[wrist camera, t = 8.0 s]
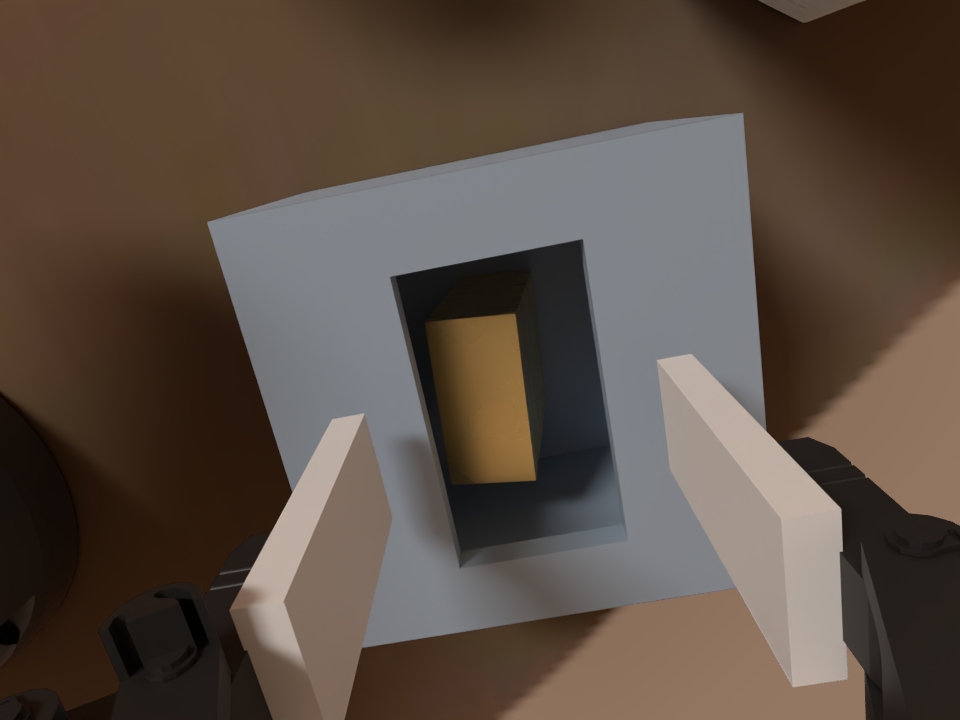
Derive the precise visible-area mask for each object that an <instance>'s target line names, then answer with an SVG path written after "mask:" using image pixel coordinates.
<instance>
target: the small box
mask: <svg viewBox="0 0 960 720" xmlns="http://www.w3.org/2000/svg"><path fill="white" fill-rule="evenodd" d="M758 1H760V2H762V3H764V4H766V5H768V6H770V7H772V8H774V9H776V10H778V11H780V12H782V13H784V14H786V15H788V16H790V17H792V18H794V19H796V20H798V21H800V22H803V23H806V22H809V21H812V20H814V19H817V18H820V17H822V16H825V15H828V14H831V13H833V12H835V11H838V10H841V9H843V8H846V7H849V6H851V5H854V4H857V3H859V2H862V1H866V0H758Z"/></svg>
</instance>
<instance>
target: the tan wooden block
mask: <svg viewBox="0 0 960 720" xmlns="http://www.w3.org/2000/svg"><path fill="white" fill-rule="evenodd" d="M425 328H426V334H427V340H428V346H429V352H430V358H431V364H432V370H433V376H434V382H435V388H436V394H437V400H438V406H439V412H440V418H441V424H442V430H443V436H444V442H445V448H446V454H447V460H448V466H449V472H450V478H451V484H452V485H460V484H479V483H498V482H517V481H536V477H537V469H538V461H539V454H540V446H541V439H542V431H543V423H544V416H545V408H546V394H545V385H544V376H543V368H542V359H541V350H540V341H539V333H538V324H537V315H536V306H535V298H534V289H533V280H532V271H531V269H526V270H516V271H507V272H498V273H488V274H479V275H470V276H461V277H460V279H459V280H458V281H457V282H456V284H455V285H454V286H453V287H452V289H451V290H450V291H449V292H448V294H447V295H446V296H445V297H444V299H443V300H442V301H441V302H440V304H439V305H438V306H437V307H436V309H435V310H434V311H433V312H432V314H431V315H430V316H429V317H428V319H427V320H426V321H425Z"/></svg>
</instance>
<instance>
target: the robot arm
mask: <svg viewBox="0 0 960 720" xmlns="http://www.w3.org/2000/svg"><path fill="white" fill-rule="evenodd" d="M657 367H658V375H659V383H660V391H661V399H662V407H663V416H664V424H665V432H666V440H667V448H668V456H669V464H670V471H671V472H672V474H673V476H674V478H675V480H676V481H677V483H678V485H679V487H680V488H681V490H682V492H683V494H684V496H685V497H686V499H687V501H688V503H689V504H690V506H691V508H692V510H693V511H694V513H695V515H696V517H697V519H698V520H699V522H700V524H701V526H702V527H703V529H704V531H705V533H706V535H707V536H708V538H709V540H710V542H711V543H712V545H713V547H714V549H715V551H716V552H717V554H718V556H719V558H720V559H721V561H722V563H723V565H724V566H725V568H726V570H727V572H728V574H729V575H730V577H731V579H732V581H733V582H734V584H735V586H736V588H737V590H738V591H739V593H740V595H741V596H742V598H743V600H744V602H745V604H746V606H747V607H748V609H749V611H750V613H751V614H752V616H753V618H754V620H755V622H756V623H757V625H758V627H759V628H760V630H761V632H762V634H763V636H764V637H765V639H766V641H767V643H768V644H769V646H770V648H771V650H772V652H773V653H774V655H775V657H776V659H777V661H778V662H779V664H780V666H781V667H782V669H783V671H784V673H785V675H786V677H787V678H788V680H789V682H790V684H791V685H792V687H799V686H806V685H812V684H819V683H826V682H832V681H839V680H845V679H848V674H847V647H848V648H849V649H850V651H851V652H852V653H853V655H854V656H855V658H856V659H857V661H858V662H859V663H860V665H861V666H862V667H863V669H864V671H865V703H866V704H865V707H866V720H960V526H959V525H957V524H955V523H953V522H951V521H947V520H944V519H940V518H937V517H933V516H929V515H919V514H910V513H908V512H907V511H905V510H904V509H903V508H902V507H901V506H900V505H899V504H898V503H896V502H895V501H894V500H893V499H892V498H891V497H890V496H889V495H887V494H886V493H885V492H884V491H883V490H881V488H879V487H878V486H877V485H876V484H875V483H874V482H873V481H871V480H870V479H869V478H865V474H863V473H862V472H861V471H860V470H859V469H858V468H857V467H855V466H854V465H853V466H852V465H851V462H850V461H849V460H848V459H847V458H845V457H844V456H843V455H842V454H841V453H840V452H839V451H837V450H836V449H835V448H834V447H831V446H829V445H826V444H824V443H821V442H819V441H816V440H814V439H812V438H809V437H806V438H800V439H794V440H789V441H783V442H776V441H775V440H774V439H773V438H772V437H771V436H770V435H769V434H768V433H767V432H766V431H765V429H764V428H763V427H762V426H761V425H760V424H759V423H758V422H757V421H756V420H755V419H754V418H753V417H752V416H751V415H750V414H749V413H748V412H747V411H746V410H745V409H744V408H743V407H742V406H741V405H740V404H739V403H738V402H737V400H736V399H735V398H734V397H733V396H732V395H731V394H730V393H729V392H728V391H727V390H726V389H725V388H724V387H723V386H722V385H721V384H720V383H719V382H718V381H717V380H716V379H715V378H714V377H713V376H712V375H711V374H710V373H709V372H708V370H707V369H706V368H705V367H704V366H703V365H702V364H701V363H700V362H699V361H698V360H697V359H696V358H695V357H694V356H693V355H692V354H687V355H681V356H676V357H670V358H665V359H660V360H657ZM392 519H393V517H392V513H391V509H390V506H389V502H388V498H387V495H386V491H385V487H384V483H383V480H382V476H381V472H380V468H379V465H378V461H377V457H376V454H375V450H374V446H373V442H372V439H371V435H370V431H369V427H368V424H367V420H366V416H365V413H364V414H358V415H353V416H347V417H342V418H336V419H332V421H331V422H330V424H329V426H328V428H327V430H326V432H325V434H324V435H323V437H322V439H321V441H320V443H319V445H318V447H317V448H316V450H315V452H314V454H313V456H312V458H311V460H310V461H309V463H308V465H307V467H306V469H305V471H304V473H303V474H302V476H301V478H300V480H299V482H298V484H297V486H296V487H295V489H294V491H293V493H292V495H291V497H290V498H289V500H288V502H287V504H286V506H285V508H284V510H283V511H282V513H281V515H280V517H279V519H278V521H277V523H276V524H275V526H274V528H273V530H272V532H268V533H262V534H256V535H251V536H250V537H249V538H248V539H246V540H245V541H244V542H243V543H242V544H241V545H240V546H238V547H237V548H236V549H235V550H234V551H233V552H232V553H231V554H230V555H229V557H228V559H227V560H226V562H225V564H224V565H223V567H222V568H221V570H220V575H217V577H216V578H215V580H214V582H213V583H212V585H211V586H210V588H211V589H210V591H207V593H206V595H205V596H204V598H203V596H202V594H201V591H200V588H199V587H197V586H195V585H193V584H191V583H172V584H168V585H164V586H160V587H156V588H154V589H151V590H149V591H147V592H145V593H142V594H140V595H138V596H136V597H134V598H133V599H131V600H130V601H128V602H127V603H125V604H123V605H122V606H120V607H119V608H118V609H117V610H116V611H115V612H114V613H112V614H111V615H110V616H109V617H108V618H107V619H106V620H105V622H104V623H103V625H102V627H101V628H100V630H99V632H98V633H99V635H100V637H101V640H102V642H103V644H104V646H105V649H106V651H107V653H108V655H109V658H110V660H111V662H112V664H113V667H114V669H115V671H116V673H117V676H118V678H119V680H120V685H119V689H118V692H115V693H113V694H111V695H108V696H106V697H103V698H100V699H98V700H95V701H93V702H90V703H87V704H85V705H82V706H80V707H77V708H74V709H72V710H69V711H65V709H64V707H63V705H62V703H61V701H60V699H59V697H58V695H57V693H56V692H54V691H52V690H49V689H47V688H44V689H32V690H28V691H25V692H22V693H19V694H16V695H12V696H9V697H7V698H5V699H2V700H0V720H345V716H346V711H347V707H348V703H349V699H350V695H351V691H352V686H353V682H354V678H355V674H356V670H357V665H358V661H359V657H360V653H361V649H362V644H363V640H364V636H365V632H366V628H367V624H368V619H369V615H370V611H371V607H372V603H373V598H374V594H375V590H376V586H377V582H378V578H379V573H380V569H381V565H382V561H383V557H384V552H385V548H386V544H387V540H388V536H389V531H390V527H391V523H392ZM77 555H78V530H77V523H76V516H75V512H74V507H73V504H72V500H71V497H70V494H69V491H68V488H67V486H66V483H65V481H64V479H63V477H62V474H61V472H60V470H59V468H58V466H57V465H56V463H55V461H54V459H53V458H52V456H51V454H50V453H49V451H48V450H47V448H46V447H45V445H44V444H43V442H42V441H41V440H40V438H39V437H38V436H37V434H36V433H35V432H34V431H33V430H32V428H31V427H30V426H29V425H28V424H27V423H26V421H25V420H24V419H23V418H22V417H21V416H20V415H19V414H18V413H17V412H16V411H15V410H14V409H13V408H12V407H11V406H10V405H8V404H7V403H6V402H5V401H4V400H3V399H2V398H1V397H0V669H1V668H2V667H4V666H5V665H6V664H7V663H9V662H10V661H11V660H12V659H13V658H14V657H15V656H16V655H18V654H19V653H20V652H21V651H22V649H23V648H24V647H25V646H26V645H27V644H28V643H29V642H30V641H31V640H32V638H33V637H34V636H35V635H36V634H37V633H38V632H39V631H40V630H41V628H42V627H43V626H44V625H45V624H46V623H47V622H48V621H49V620H50V618H51V617H52V616H53V615H54V614H55V612H56V611H57V609H58V608H59V607H60V605H61V603H62V602H63V600H64V598H65V596H66V594H67V592H68V590H69V588H70V585H71V582H72V579H73V576H74V572H75V568H76V562H77ZM846 645H847V647H846Z"/></svg>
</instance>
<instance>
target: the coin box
mask: <svg viewBox="0 0 960 720" xmlns="http://www.w3.org/2000/svg"><path fill="white" fill-rule="evenodd" d="M207 223H208V227H209V230H210V233H211V236H212V239H213V242H214V246H215V249H216V252H217V255H218V258H219V262H220V265H221V268H222V271H223V274H224V277H225V281H226V284H227V287H228V290H229V293H230V296H231V300H232V303H233V306H234V309H235V312H236V315H237V319H238V322H239V325H240V328H241V331H242V334H243V338H244V341H245V344H246V347H247V350H248V353H249V357H250V360H251V363H252V366H253V369H254V372H255V376H256V379H257V382H258V385H259V388H260V391H261V395H262V398H263V401H264V404H265V407H266V410H267V414H268V417H269V420H270V423H271V426H272V429H273V433H274V436H275V439H276V442H277V445H278V449H279V452H280V455H281V458H282V461H283V464H284V468H285V471H286V474H287V477H288V480H289V483H290V487H291V490H292V493H293V491H294V489H295V487H296V486H297V484H298V482H299V480H300V478H301V476H302V474H303V473H304V471H305V469H306V467H307V465H308V463H309V461H310V460H311V458H312V456H313V454H314V452H315V450H316V448H317V447H318V445H319V443H320V441H321V439H322V437H323V435H324V434H325V432H326V430H327V428H328V426H329V424H330V422H331V421H332V419H336V418H342V417H347V416H353V415H358V414H364V413H365V416H366V420H367V424H368V427H369V431H370V435H371V439H372V442H373V446H374V450H375V454H376V457H377V461H378V465H379V468H380V472H381V476H382V480H383V483H384V487H385V491H386V495H387V498H388V502H389V506H390V509H391V513H392V517H393V519H392V523H391V527H390V531H389V536H388V540H387V544H386V548H385V552H384V557H383V561H382V565H381V569H380V573H379V578H378V582H377V586H376V590H375V594H374V598H373V603H372V607H371V611H370V615H369V619H368V624H367V628H366V632H365V636H364V640H363V644H362V648H364V647H371V646H377V645H383V644H389V643H396V642H402V641H408V640H414V639H421V638H427V637H433V636H439V635H446V634H452V633H458V632H464V631H471V630H477V629H483V628H489V627H496V626H502V625H508V624H514V623H521V622H527V621H533V620H539V619H546V618H552V617H558V616H564V615H571V614H577V613H583V612H589V611H596V610H602V609H608V608H615V607H621V606H627V605H633V604H639V603H646V602H652V601H658V600H665V599H670V598H677V597H683V596H689V595H696V594H702V593H708V592H715V591H720V590H727V589H733V588H736V586H735V584H734V582H733V581H732V579H731V577H730V575H729V574H728V572H727V570H726V568H725V566H724V565H723V563H722V561H721V559H720V558H719V556H718V554H717V552H716V551H715V549H714V547H713V545H712V543H711V542H710V540H709V538H708V536H707V535H706V533H705V531H704V529H703V527H702V526H701V524H700V522H699V520H698V519H697V517H696V515H695V513H694V511H693V510H692V508H691V506H690V504H689V503H688V501H687V499H686V497H685V496H684V494H683V492H682V490H681V488H680V487H679V485H678V483H677V481H676V480H675V478H674V476H673V474H672V472H671V471H670V464H669V456H668V448H667V440H666V432H665V424H664V416H663V407H662V399H661V391H660V383H659V375H658V367H657V360H660V359H665V358H670V357H676V356H681V355H687V354H692V355H693V356H694V357H695V358H696V359H697V360H698V361H699V362H700V363H701V364H702V365H703V366H704V367H705V368H706V369H707V370H708V372H709V373H710V374H711V375H712V376H713V377H714V378H715V379H716V380H717V381H718V382H719V383H720V384H721V385H722V386H723V387H724V388H725V389H726V390H727V391H728V392H729V393H730V394H731V395H732V396H733V397H734V398H735V399H736V400H737V402H738V403H739V404H740V405H741V406H742V407H743V408H744V409H745V410H746V411H747V412H748V413H749V414H750V415H751V416H752V417H753V418H754V419H755V420H756V421H757V422H758V423H759V424H760V425H761V426H762V427H763V428H764V429H765V431H766V420H765V406H764V392H763V379H762V365H761V352H760V338H759V324H758V311H757V297H756V283H755V270H754V256H753V243H752V229H751V215H750V202H749V188H748V174H747V161H746V147H745V134H744V120H743V113H737V114H727V115H717V116H707V117H697V118H687V119H676V120H666V121H656V122H647V123H642V124H637V125H632V126H627V127H622V128H617V129H612V130H608V131H603V132H598V133H593V134H588V135H583V136H578V137H573V138H569V139H564V140H559V141H554V142H549V143H544V144H539V145H534V146H530V147H525V148H520V149H515V150H510V151H505V152H500V153H495V154H490V155H486V156H481V157H476V158H471V159H466V160H461V161H456V162H451V163H447V164H442V165H437V166H432V167H427V168H422V169H417V170H412V171H408V172H403V173H398V174H393V175H388V176H383V177H378V178H373V179H369V180H364V181H359V182H354V183H349V184H344V185H339V186H334V187H330V188H325V189H320V190H315V191H310V192H305V193H302V194H299V195H296V196H292V197H289V198H286V199H282V200H279V201H276V202H272V203H269V204H266V205H263V206H259V207H256V208H253V209H249V210H246V211H243V212H239V213H236V214H233V215H230V216H226V217H223V218H220V219H216V220H213V221H210V222H207ZM526 269H531V271H532V280H533V289H534V298H535V306H536V315H537V324H538V333H539V341H540V350H541V359H542V368H543V376H544V385H545V394H546V408H545V416H544V423H543V431H542V439H541V446H540V454H539V461H538V469H537V477H536V481H517V482H498V483H479V484H460V485H452V484H451V478H450V472H449V466H448V460H447V454H446V448H445V442H444V436H443V430H442V424H441V418H440V412H439V406H438V400H437V394H436V388H435V382H434V376H433V370H432V364H431V358H430V352H429V346H428V340H427V334H426V328H425V321H426V320H427V319H428V317H429V316H430V315H431V314H432V312H433V311H434V310H435V309H436V307H437V306H438V305H439V304H440V302H441V301H442V300H443V299H444V297H445V296H446V295H447V294H448V292H449V291H450V290H451V289H452V287H453V286H454V285H455V284H456V282H457V281H458V280H459V279H460V277H461V276H470V275H479V274H488V273H498V272H507V271H516V270H526Z"/></svg>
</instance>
